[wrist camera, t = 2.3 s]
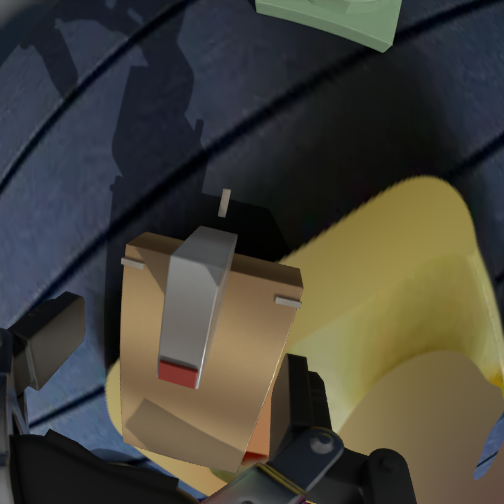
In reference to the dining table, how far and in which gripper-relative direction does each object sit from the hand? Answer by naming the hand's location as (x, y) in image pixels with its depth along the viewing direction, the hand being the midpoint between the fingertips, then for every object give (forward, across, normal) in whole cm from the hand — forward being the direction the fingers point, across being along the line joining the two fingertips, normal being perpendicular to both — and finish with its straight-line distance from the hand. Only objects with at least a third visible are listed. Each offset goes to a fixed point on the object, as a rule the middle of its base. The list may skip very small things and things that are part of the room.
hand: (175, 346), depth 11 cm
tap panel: (+9, 0, +6) cm, 11 cm away
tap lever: (+6, 0, 0) cm, 6 cm away
